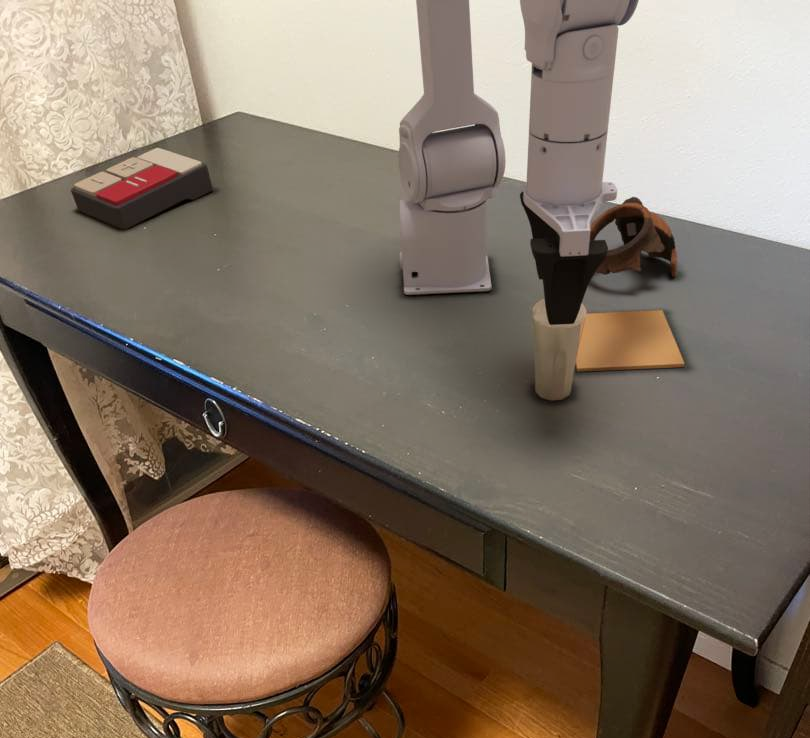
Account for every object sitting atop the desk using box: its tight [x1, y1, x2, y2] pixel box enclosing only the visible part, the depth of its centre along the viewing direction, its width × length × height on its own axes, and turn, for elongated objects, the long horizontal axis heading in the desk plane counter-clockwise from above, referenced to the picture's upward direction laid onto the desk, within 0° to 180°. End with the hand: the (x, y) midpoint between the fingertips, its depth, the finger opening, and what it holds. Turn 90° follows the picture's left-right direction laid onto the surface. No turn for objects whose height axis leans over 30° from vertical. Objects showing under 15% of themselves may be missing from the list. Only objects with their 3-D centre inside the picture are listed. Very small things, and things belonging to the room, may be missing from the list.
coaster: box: [575, 309, 685, 372], centre depth 83 cm, size 10×10×1 cm
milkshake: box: [524, 292, 587, 402], centre depth 74 cm, size 4×5×10 cm
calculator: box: [70, 147, 214, 231], centre depth 114 cm, size 11×4×15 cm
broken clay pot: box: [590, 196, 678, 278], centre depth 92 cm, size 12×10×8 cm
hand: (555, 299), depth 71 cm, fingers open, 7 cm apart
